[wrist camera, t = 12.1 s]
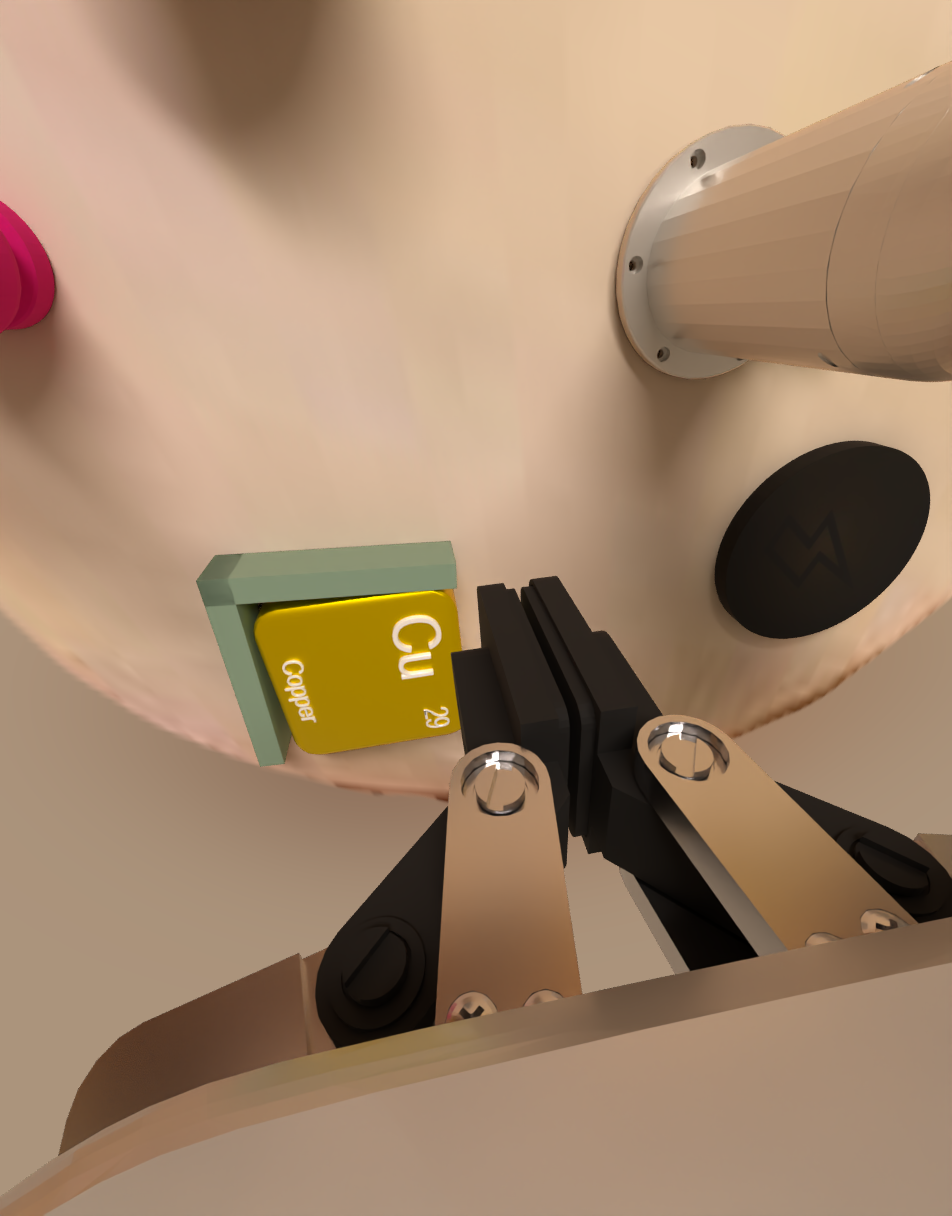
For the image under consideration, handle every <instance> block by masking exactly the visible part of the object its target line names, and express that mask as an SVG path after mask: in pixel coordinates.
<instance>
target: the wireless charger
mask: <svg viewBox="0 0 952 1216" xmlns="http://www.w3.org/2000/svg"><path fill="white" fill-rule="evenodd" d="M929 509H930V490H929V485H928V481H927V478H926V475H925V473H924V471H923V470H922V468H921V467H920V465H919V464H918V463H917V462H916V461H915V460H914V459H913V458H912V457H910V456H909V455H907V454H906V453H904V452H902V451H900V450H897V449H894V448H890V447H887V446H883V445H879V444H876V443H871V442H866V441H845V442H839V443H834V444H830V445H826V446H823V447H820V448H817V449H815V450H812V451H810V452H808V453H806V454H803V455H801V456H799V457H798V458H796V459H794V460H792V461H791V462H789V463H788V464H786V465H785V466H783V467H782V468H780V469H779V470H778V471H776V472H775V473H774V474H772V475H771V476H770V477H769V478H767V479H766V480H765V481H764V482H763V483H762V484H761V485H760V486H759V487H758V488H757V489H756V490H755V491H754V492H753V493H752V494H751V495H750V496H749V498H748V499H747V500H746V501H745V502H744V504H743V505H742V506H741V508H740V509H739V510H738V512H737V513H736V515H735V516H734V518H733V520H732V521H731V523H730V525H729V527H728V528H727V530H726V532H725V535H724V537H723V539H722V542H721V544H720V548H719V551H718V555H717V559H716V565H715V585H716V590H717V594H718V597H719V599H720V601H721V603H722V605H723V607H724V608H725V609H726V611H727V612H728V613H729V614H730V615H731V616H732V617H733V618H735V619H736V620H737V621H738V622H739V623H740V624H741V625H742V626H744V627H745V628H746V629H748V630H749V631H751V632H753V633H755V634H758V635H761V636H764V637H769V638H778V639H787V638H797V637H802V636H807V635H811V634H814V633H817V632H820V631H823V630H825V629H828V628H830V627H832V626H835V625H837V624H839V623H841V622H842V621H844V620H846V619H848V618H849V617H851V616H853V615H854V614H856V613H857V612H859V611H860V610H862V609H863V608H864V607H866V606H867V605H868V604H870V603H871V602H872V601H873V600H874V599H876V598H877V597H878V596H879V595H880V594H881V593H882V592H883V591H884V590H885V589H886V588H887V587H888V586H889V585H890V584H891V583H892V582H893V581H894V580H895V578H896V577H897V576H898V575H899V574H900V572H901V571H902V570H903V568H904V567H905V566H906V564H907V563H908V561H909V560H910V558H911V557H912V555H913V553H914V552H915V550H916V548H917V546H918V544H919V542H920V540H921V538H922V535H923V532H924V530H925V527H926V524H927V520H928V515H929Z"/></svg>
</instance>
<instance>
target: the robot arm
mask: <svg viewBox="0 0 952 1216" xmlns="http://www.w3.org/2000/svg"><path fill="white" fill-rule="evenodd" d="M691 158H692V160H693V166H692V167H691V165H690V159H691ZM630 261H632V263H633V269H632V270H631V271H630V270H629V263H630ZM616 296H617V303H618V309H619V316H620V319H621V322H622V325H623V328H624V331H625V334H626V336H627V337H628V339H629V341H630V343H631V344H632V346H633V348H634V349H635V351H636V352H637V353H638V354H639V355H640V356H641V357H642V358H643V359H644V361H645V362H646V363H648V364H649V365H651V366H652V367H654V368H655V369H657V370H658V371H660V372H663V373H666V374H669V375H672V376H675V377H680V378H686V379H706V378H710V377H714V376H718V375H722V374H724V373H727V372H729V371H731V370H733V369H736V368H738V367H740V366H741V365H743V364H744V363H746V362H747V361H749V360H754V361H762V362H770V363H777V364H785V365H793V366H800V367H808V368H816V369H823V370H831V371H839V372H846V373H854V374H862V375H869V376H877V377H884V378H891V379H899V380H907V381H918V382H943V381H952V61H950V62H948V63H945V64H943V65H941V66H938V67H936V68H934V69H932V70H930V71H927V72H925V73H923V74H921V75H919V76H917V77H914V78H912V79H910V80H908V81H906V82H903V83H901V84H899V85H897V86H895V87H892V88H890V89H888V90H886V91H884V92H882V93H879V94H877V95H875V96H873V97H871V98H868V99H866V100H864V101H862V102H860V103H857V104H855V105H853V106H851V107H849V108H847V109H844V110H842V111H840V112H838V113H836V114H833V115H831V116H829V117H827V118H825V119H822V120H820V121H818V122H816V123H814V124H812V125H809V126H807V127H805V128H803V129H801V130H798V131H796V132H794V133H792V134H789V135H787V136H785V135H783V134H781V133H780V132H778V131H776V130H774V129H772V128H770V127H765V126H760V125H755V124H744V125H733V126H728V127H725V128H722V129H720V130H717V131H714V132H711V133H709V134H707V135H705V136H703V137H702V138H700V139H698V140H696V141H694V142H693V143H691V144H690V145H688V146H687V147H686V148H684V149H683V150H682V151H680V152H679V153H678V154H676V155H675V156H674V157H673V158H671V159H670V160H669V162H668V163H667V164H666V165H665V166H664V167H663V168H662V169H661V170H660V171H659V172H658V174H657V175H656V176H655V177H654V178H653V180H652V181H651V183H650V184H649V186H648V187H647V189H646V190H645V192H644V193H643V195H642V196H641V198H640V199H639V201H638V203H637V205H636V207H635V210H634V212H633V214H632V216H631V218H630V220H629V222H628V225H627V228H626V231H625V235H624V238H623V241H622V244H621V248H620V254H619V260H618V266H617V281H616ZM659 350H660V356H659V357H657V353H658V351H659ZM477 598H478V610H479V623H480V635H481V647H482V648H478V649H471V650H465V651H458V652H451V661H452V669H453V678H454V685H455V693H456V700H457V707H458V714H459V720H460V727H461V733H462V739H463V745H464V752H465V756H464V757H462V758H461V759H460V760H459V762H458V763H457V765H456V766H455V768H454V769H453V772H452V776H451V780H450V786H449V802H448V806H447V808H446V809H445V810H444V811H443V812H442V813H441V814H440V816H439V817H438V818H437V819H436V820H435V821H434V823H433V824H432V825H431V826H430V827H429V828H428V830H427V831H426V832H425V833H424V834H423V835H422V836H421V837H420V839H419V840H418V841H417V842H416V843H415V845H414V846H413V847H412V848H411V849H410V850H409V851H408V852H407V854H406V855H405V856H404V857H403V858H402V860H401V861H400V862H399V863H398V864H397V865H396V866H395V867H394V869H393V870H392V871H391V872H390V873H389V874H388V875H387V877H386V878H385V879H384V880H383V881H382V883H380V885H379V886H378V887H377V888H376V889H375V890H374V892H373V893H372V894H371V895H370V896H369V897H368V899H367V900H366V901H365V902H364V903H363V904H362V905H361V906H360V908H359V909H358V910H357V911H356V912H355V913H354V915H353V916H352V917H351V918H350V919H349V920H348V921H347V923H346V924H345V925H344V926H343V927H342V928H341V929H340V931H339V932H338V933H337V935H336V936H335V938H334V939H333V941H332V942H331V944H330V945H329V947H328V948H325V949H323V950H321V951H319V952H317V953H314V954H312V955H310V956H308V957H306V958H303V959H302V957H301V955H300V954H299V953H297V954H295V955H293V956H290V957H288V958H286V959H284V960H281V961H279V962H277V963H275V964H273V965H270V966H268V967H266V968H264V969H261V970H259V971H257V972H255V973H252V974H250V975H248V976H246V977H244V978H241V979H239V980H237V981H235V982H232V983H230V984H228V985H226V986H223V987H221V988H219V989H217V990H215V991H212V992H210V993H208V994H206V995H203V996H201V997H199V998H197V999H195V1000H192V1001H190V1002H188V1003H185V1004H183V1005H181V1006H179V1007H176V1008H174V1009H172V1010H170V1011H168V1012H165V1013H163V1014H161V1015H159V1016H156V1017H154V1018H152V1019H150V1020H148V1021H145V1022H143V1023H141V1024H140V1025H138V1026H137V1027H135V1028H133V1029H132V1030H130V1031H129V1032H127V1033H126V1034H124V1035H122V1036H121V1037H119V1038H118V1039H117V1040H116V1041H115V1042H114V1043H113V1044H112V1045H111V1046H110V1048H108V1050H106V1052H105V1053H104V1054H103V1055H102V1056H101V1057H100V1058H99V1059H98V1060H97V1061H96V1062H95V1064H94V1065H93V1067H92V1068H91V1070H90V1072H89V1073H88V1075H87V1076H86V1078H85V1079H84V1081H83V1082H82V1084H81V1086H80V1087H79V1088H78V1091H77V1093H76V1096H75V1099H74V1101H73V1104H72V1107H71V1109H70V1112H69V1115H68V1117H67V1120H66V1124H65V1129H64V1133H63V1138H62V1142H61V1147H60V1151H59V1155H58V1157H56V1158H54V1159H53V1160H51V1161H50V1162H48V1163H47V1164H45V1165H44V1166H42V1167H41V1168H40V1169H38V1170H37V1171H36V1172H34V1173H33V1174H31V1175H30V1176H28V1177H27V1178H26V1179H24V1180H23V1181H21V1182H20V1183H19V1184H17V1185H16V1186H14V1187H13V1188H12V1189H10V1190H9V1191H8V1192H6V1193H5V1194H3V1195H2V1196H0V1216H952V835H944V834H921V833H918V834H917V836H916V837H915V839H914V840H911V839H910V838H908V837H906V836H904V835H902V834H900V833H898V832H896V831H894V830H893V829H890V828H888V827H886V826H883V825H881V824H879V823H876V822H874V821H871V820H869V819H867V818H864V817H861V816H859V815H857V814H854V813H852V812H849V811H847V810H844V809H842V808H840V807H837V806H834V805H832V804H830V803H827V802H825V801H822V800H820V799H817V798H815V797H812V796H810V795H808V794H805V793H803V792H800V791H798V790H795V789H793V788H790V787H788V786H785V785H783V784H781V783H778V782H776V781H773V780H772V779H771V778H770V777H769V776H768V775H767V774H766V773H765V772H764V771H763V770H762V769H761V768H760V767H759V766H758V765H757V764H756V763H755V762H754V761H753V760H752V759H751V758H750V757H749V756H748V755H747V754H746V753H745V752H744V751H743V750H742V749H741V748H740V747H739V746H738V745H737V744H736V743H735V742H734V741H733V740H732V739H731V738H730V737H729V736H728V735H726V734H725V733H724V732H722V731H721V730H720V729H719V728H717V727H716V726H714V725H712V724H710V723H708V722H706V721H704V720H701V719H698V718H694V717H690V716H687V715H673V714H672V715H665V716H663V715H662V713H661V712H660V710H659V709H658V707H657V706H656V704H655V703H654V701H653V700H652V698H651V697H650V695H649V694H648V692H647V691H646V689H645V688H644V686H643V685H642V683H641V682H640V680H639V679H638V677H637V676H636V674H635V673H634V671H633V670H632V668H631V667H630V665H629V664H628V662H627V661H626V659H625V658H624V656H623V655H622V653H621V652H620V650H619V649H618V647H617V646H616V644H615V643H614V641H613V640H612V638H611V637H610V636H609V634H608V633H607V632H605V631H596V632H592V631H591V629H590V628H589V626H588V625H587V623H586V621H585V620H584V618H583V617H582V615H581V613H580V612H579V610H578V609H577V607H576V605H575V604H574V602H573V600H572V599H571V597H570V596H569V594H568V592H567V591H566V589H565V588H564V586H563V584H562V583H561V581H560V580H559V578H558V577H557V576H552V577H545V578H537V579H531V580H530V582H529V587H522V588H521V602H520V600H519V597H518V595H517V593H516V591H515V589H506V587H505V585H504V583H500V584H492V585H485V586H477ZM568 827H569V830H570V833H571V834H572V836H573V837H576V836H582V838H583V841H584V843H585V846H586V849H587V852H588V854H591V853H596V852H602V854H603V857H604V858H605V859H607V860H608V861H610V862H612V863H614V864H615V865H617V866H619V870H620V874H621V877H622V879H623V882H624V884H625V886H626V888H627V889H628V891H629V893H630V895H631V897H632V898H633V900H634V902H635V904H636V905H637V907H638V909H639V911H640V912H641V914H642V916H643V918H644V920H645V921H646V923H647V925H648V927H649V929H650V930H651V932H652V934H653V936H654V937H655V939H656V941H657V943H658V944H659V946H660V948H661V950H662V952H663V953H664V955H665V957H666V959H667V960H668V962H669V964H670V965H671V968H672V969H673V971H674V973H675V975H670V976H665V977H661V978H656V979H651V980H646V981H642V982H637V983H633V984H627V985H623V986H619V987H613V988H609V989H604V990H599V991H595V992H590V993H586V994H582V988H581V981H580V974H579V968H578V961H577V954H576V948H575V941H574V935H573V928H572V921H571V915H570V908H569V901H568V895H567V888H566V883H565V882H566V881H565V875H564V868H565V866H566V864H567V844H568V843H567V842H568Z"/></svg>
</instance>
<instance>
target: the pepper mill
mask: <svg viewBox="0 0 952 1216" xmlns="http://www.w3.org/2000/svg"><path fill="white" fill-rule="evenodd" d="M53 299H54V277H53V272H52V268H51V265H50V262H49V260H48V257H47V255H46V253H45V251H44V249H43V247H42V245H41V244H40V242H39V240H38V239H37V237H36V236H35V234H34V233H33V232H32V230H31V229H30V228H29V227H28V225H27V224H26V223H25V222H24V221H23V220H22V219H21V218H20V217H19V216H18V215H17V214H16V213H15V212H14V211H13V210H11V209H10V208H9V207H8V206H7V205H5V204H4V203H2V202H1V201H0V333H1V332H3V331H4V330H13V329H23V328H27V327H30V326H32V325H34V324H36V323H38V322H39V321H41V320H42V319H43V318H44V317H45V316H46V315H47V313H48V312H49V310H50V308H51V305H52V302H53Z"/></svg>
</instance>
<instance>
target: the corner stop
mask: <svg viewBox="0 0 952 1216" xmlns="http://www.w3.org/2000/svg"><path fill="white" fill-rule="evenodd" d="M196 582H197V585H198V588H199V591H200V594H201V597H202V599H203V602H204V605H205V608H206V611H207V614H208V617H209V620H210V623H211V626H212V628H213V631H214V634H215V637H216V640H217V643H218V646H219V649H220V652H221V654H222V657H223V660H224V663H225V666H226V669H227V672H228V675H229V678H230V681H231V683H232V686H233V689H234V692H235V695H236V698H237V701H238V704H239V707H240V709H241V712H242V715H243V718H244V721H245V724H246V727H247V730H248V733H249V736H250V738H251V741H252V744H253V747H254V750H255V753H256V756H257V759H258V762H259V764H260V767H261V766H270V765H279V764H285V760H286V755H287V751H288V747H289V743H290V739H291V735H292V733H291V731H290V728H289V725H288V723H287V720H286V718H285V715H284V713H283V710H282V708H281V705H280V702H279V700H278V697H277V695H276V692H275V690H274V687H273V684H272V682H271V679H270V677H269V674H268V672H267V669H266V667H265V664H264V661H263V659H262V656H261V654H260V651H259V649H258V646H257V644H256V641H255V637H254V632H253V630H254V623H255V621H256V618H257V616H258V614H259V612H260V611H259V607H258V604H257V603H264V602H277V601H291V600H305V599H318V598H332V597H346V596H359V595H373V594H387V593H400V592H414V591H428V590H441V589H455V588H457V581H456V561H455V557H454V553H453V549H452V545H451V541H442V542H426V543H410V544H393V545H377V546H361V547H344V548H328V549H312V550H295V551H279V552H262V553H246V554H230V555H215V556H214V557H213V559H212V560H211V561H210V563H209V564H208V566H207V567H206V568H205V570H204V571H203V572H202V574H201V575H200V576H199V578H198V579H197V580H196Z"/></svg>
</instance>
